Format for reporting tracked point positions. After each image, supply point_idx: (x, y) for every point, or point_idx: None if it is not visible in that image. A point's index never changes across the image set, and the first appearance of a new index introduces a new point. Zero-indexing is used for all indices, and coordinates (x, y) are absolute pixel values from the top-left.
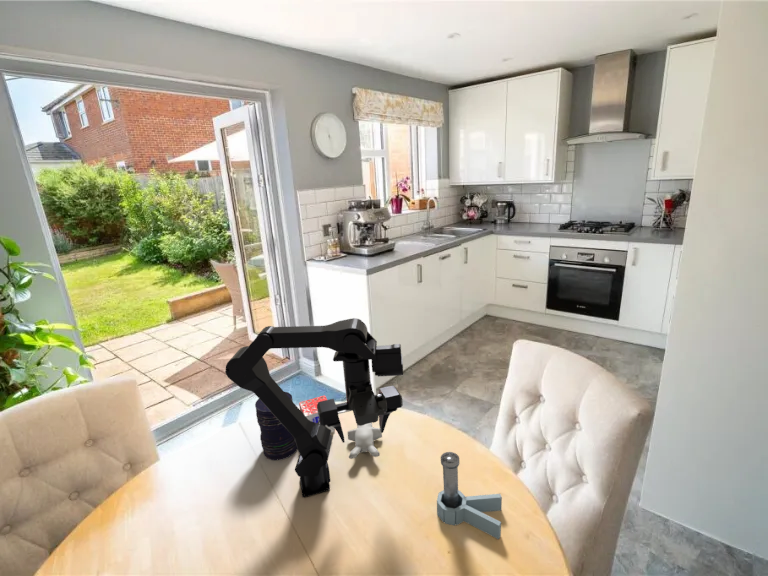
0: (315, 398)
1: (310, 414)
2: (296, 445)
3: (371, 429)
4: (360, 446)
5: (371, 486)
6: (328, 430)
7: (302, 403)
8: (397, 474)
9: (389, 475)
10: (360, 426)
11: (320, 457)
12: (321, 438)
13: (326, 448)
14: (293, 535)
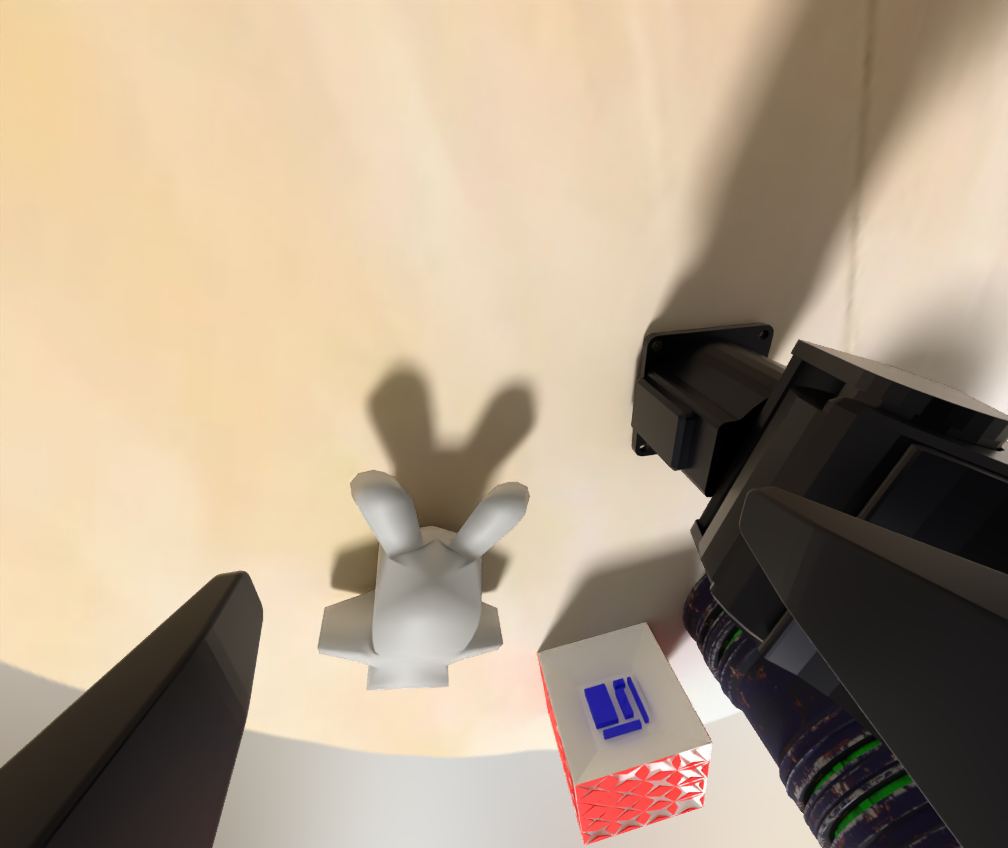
0: (629, 828)
1: (685, 751)
2: (709, 599)
3: (376, 650)
4: (455, 552)
5: (432, 300)
6: (800, 654)
7: (687, 800)
8: (260, 349)
9: (313, 353)
10: (433, 671)
11: (917, 389)
12: (988, 560)
13: (920, 447)
14: (883, 89)
